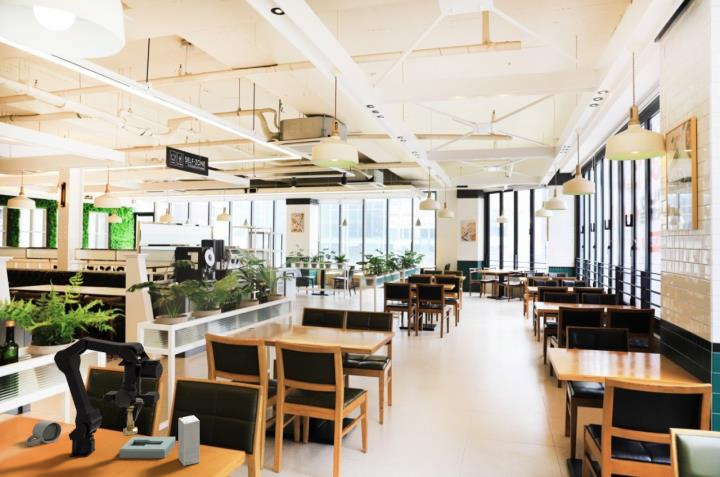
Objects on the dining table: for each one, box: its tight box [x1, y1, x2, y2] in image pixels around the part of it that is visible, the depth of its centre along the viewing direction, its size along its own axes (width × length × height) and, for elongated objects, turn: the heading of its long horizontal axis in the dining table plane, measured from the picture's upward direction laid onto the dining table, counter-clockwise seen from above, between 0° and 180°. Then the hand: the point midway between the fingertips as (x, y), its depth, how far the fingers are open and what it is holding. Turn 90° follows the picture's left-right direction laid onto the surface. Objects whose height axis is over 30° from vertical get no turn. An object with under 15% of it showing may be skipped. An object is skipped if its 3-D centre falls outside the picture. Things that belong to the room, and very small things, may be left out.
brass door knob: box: [122, 405, 138, 437], centre depth 180 cm, size 5×5×9 cm
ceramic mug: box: [25, 419, 62, 447], centre depth 191 cm, size 11×8×8 cm
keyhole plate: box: [119, 436, 176, 459], centre depth 184 cm, size 16×12×3 cm
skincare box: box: [177, 415, 201, 467], centre depth 177 cm, size 8×6×15 cm
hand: (130, 420), depth 180 cm, fingers closed on brass door knob, 2 cm apart
